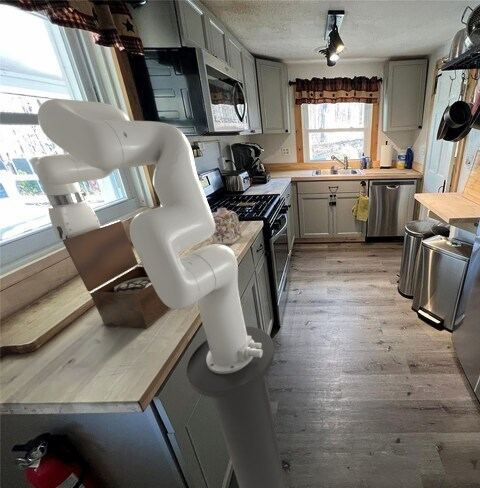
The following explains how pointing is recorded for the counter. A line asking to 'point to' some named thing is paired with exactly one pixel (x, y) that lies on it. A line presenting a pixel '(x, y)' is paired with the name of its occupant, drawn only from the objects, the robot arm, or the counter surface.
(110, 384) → the counter surface
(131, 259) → the lid
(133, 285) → the food container
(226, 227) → the decorative jar
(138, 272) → the chest
